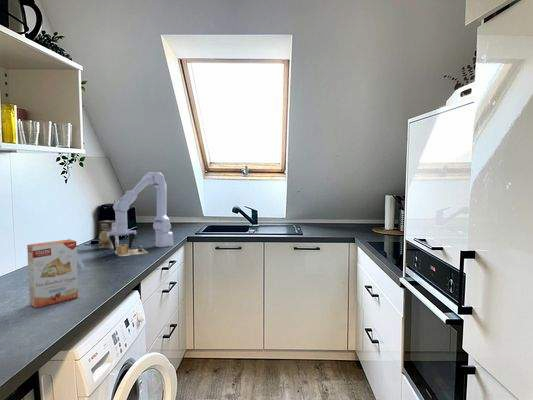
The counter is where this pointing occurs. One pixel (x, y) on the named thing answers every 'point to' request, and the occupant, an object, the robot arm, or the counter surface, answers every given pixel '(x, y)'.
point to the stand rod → (139, 248)
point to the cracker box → (52, 272)
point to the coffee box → (105, 228)
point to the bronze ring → (122, 249)
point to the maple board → (134, 252)
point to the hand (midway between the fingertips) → (122, 248)
